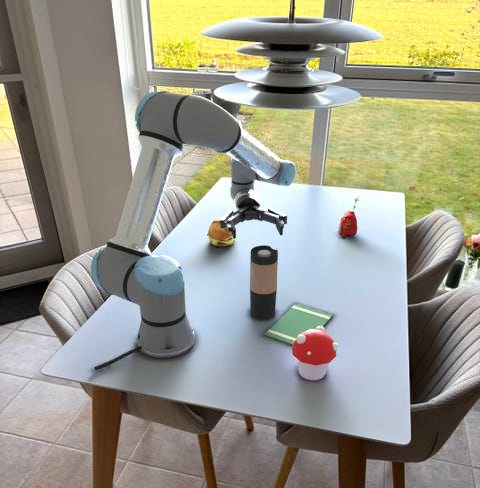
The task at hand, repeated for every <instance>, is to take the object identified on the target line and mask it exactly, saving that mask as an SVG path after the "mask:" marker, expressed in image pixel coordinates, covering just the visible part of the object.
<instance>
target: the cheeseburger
mask: <svg viewBox="0 0 480 488" xmlns="http://www.w3.org/2000/svg"><path fill="white" fill-rule="evenodd" d="M206 236H207V239H208V240H209V243H211V245H213V246H216V247H228V246H232V245H233V244H234V243H235V239H236V238H233V235H232V232H228V231H227V228H226V227H224V228H220V219H216V220H213V221H212V222H211V223H210V225H209V227H208V230H207V233H206Z"/></svg>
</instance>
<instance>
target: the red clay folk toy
mask: <svg viewBox="0 0 480 488" xmlns="http://www.w3.org/2000/svg"><path fill="white" fill-rule="evenodd" d="M359 198H360V196H358V197H357V198H354V205H353V208H352V211H351V210H347V211H346V212H344V213H343V216H342V217H340V222H339V224H338V235H339V236H340V237H341V238H344V239H346V238H352V237H354V236H356V235H357V233H358V220H357V216H356V213H355V210H356V204H357V202H358V201H359Z"/></svg>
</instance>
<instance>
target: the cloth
mask: <svg viewBox="0 0 480 488" xmlns="http://www.w3.org/2000/svg"><path fill="white" fill-rule="evenodd" d="M333 316H334V314H332V313H328V312H325V311H322V310H319V309H316V308H312V307H309V306H306V305H302V304H299V303H294V304H293V306H291V307H290V308H289V309H288V310H287V312H285V314H284V315H283V316H281V317H280V318H279V319H278V320H277V321H276V322H275V323H274V324H273V325H272V327H270V328H269V329H268V330H267V331H266V332H265V333H264V336H265V337H268V338H271V339H274V340H277V341H280V342H282V343H285V344H288V345H291V346H293V344H294V342H295V340H296V338H297V336H298V335H299V334H301V333H303V332H305V331H307V330H310V329H314V330H316V328H317V327H318V326H323V327H324V326H326V324H327V323H328V322H329V321H330V319H332V317H333Z"/></svg>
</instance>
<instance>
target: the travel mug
mask: <svg viewBox="0 0 480 488" xmlns="http://www.w3.org/2000/svg"><path fill="white" fill-rule="evenodd" d="M249 257H250V259H249V260H250V261H249V262H250V263H249V304H250V315H251V316H252V317H253V318H254V319H257V320H264V321H265V320H270V319H272V318H273V317H274V316H275V314H276V307H277V306H276V304H277V294H278V293H277V291H278V265H279V264H278V263H279V262H278V261H279V260H278V259H279V250H278V249H277V248H276V249H274V248H273V247H271V246H270V245H266V244H265V245H257V246H254V247H253V248H251V249H250V256H249Z"/></svg>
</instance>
